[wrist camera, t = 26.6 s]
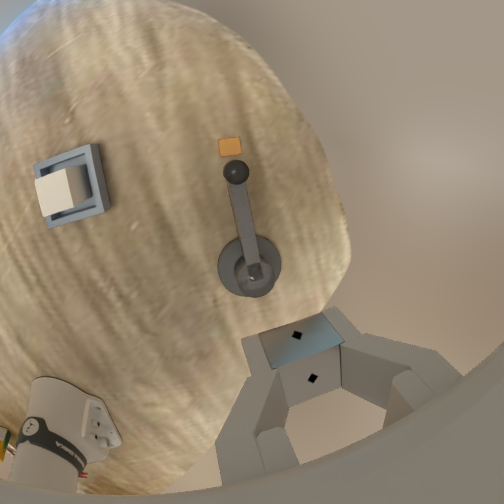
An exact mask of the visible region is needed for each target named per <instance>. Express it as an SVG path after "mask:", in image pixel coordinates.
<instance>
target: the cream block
mask: <svg viewBox="0 0 504 504" xmlns="http://www.w3.org/2000/svg"><path fill="white" fill-rule="evenodd" d="M34 182H35V186H36V191H37V195H38V199H39V203H40V207H41V211H42V215H43V217H46V216H48V215H51V214H54V213H57V212H60V211H64V210H67V209H70V208H73V207H75V206H77V205H79V204H80V203H82V202H84V201H85V200H87V199H89V198H91V197H92V195H91V190H90V186H89V181H88V177H87V172H86V167H85V164H83V165H78V166H73V167H69V168H64V169H62V170H59V171H56V172H54V173H51V174H48V175H46V176H43V177H41V178H38V179H36V180H34Z"/></svg>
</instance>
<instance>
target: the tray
mask: <svg viewBox="0 0 504 504" xmlns="http://www.w3.org/2000/svg"><path fill="white" fill-rule="evenodd" d="M83 164H85V167H86V172H87V177H88V181H89V186H90V190H91V195H92V197H91V198H89V199H87V200H85V201H84V202H82V203H80V204H79V205H77V206H75V207H73V208H70V209H67V210H64V211H60V212H57V213H54V214H51V215H48V216H46V217H45V218H46V222H47V225H48V229H51V228H54V227H57V226H60V225H63V224H67V223H70V222H73V221H77V220H80V219H83V218H87V217H90V216H94V215H97V214H101V213H104V212H106V211H107V210H108V209H109V208H111V204H110V200H109V196H108V191H107V187H106V182H105V178H104V173H103V168H102V163H101V158H100V153H99V147H98V144H87V145H84V146H81V147H78V148H76V149H73V150H70V151H67V152H65V153H62V154H59V155H57V156H54V157H52V158H49V159H47V160H44V161H42V162H39V163H37V164H35V165H33V167H34V172H35V177H36V179H38V178H41V177H43V176H46V175H48V174H51V173H54V172H56V171H59V170H62V169H64V168H69V167H73V166H78V165H83Z"/></svg>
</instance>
